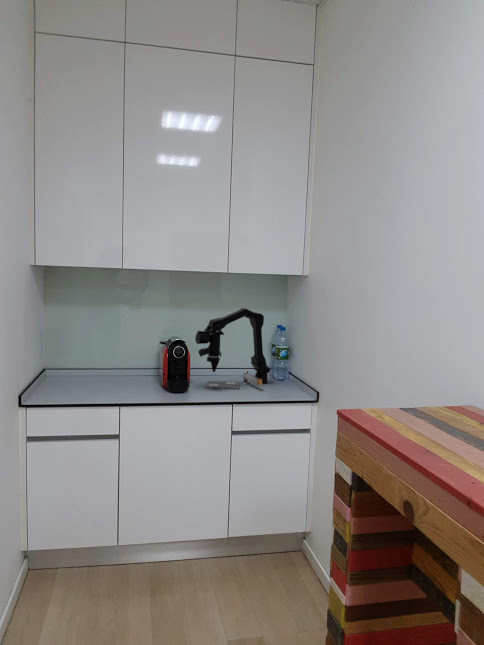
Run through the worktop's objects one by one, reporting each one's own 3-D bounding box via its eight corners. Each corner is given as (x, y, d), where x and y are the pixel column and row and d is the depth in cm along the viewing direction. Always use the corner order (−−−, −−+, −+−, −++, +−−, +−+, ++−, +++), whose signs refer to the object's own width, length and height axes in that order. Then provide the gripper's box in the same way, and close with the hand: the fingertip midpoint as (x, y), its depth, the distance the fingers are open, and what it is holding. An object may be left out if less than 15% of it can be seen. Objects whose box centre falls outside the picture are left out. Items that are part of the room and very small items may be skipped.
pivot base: (249, 382, 282) (250, 381, 282) (249, 384, 277) (249, 383, 277) (241, 382, 282) (241, 381, 282) (240, 384, 277) (240, 383, 277)
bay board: (240, 383, 278) (240, 381, 278) (239, 389, 265) (239, 387, 264) (207, 381, 279) (207, 380, 279) (205, 387, 265) (205, 386, 265)
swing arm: (242, 381, 280) (243, 370, 279) (246, 381, 281) (246, 370, 280) (257, 389, 263) (258, 378, 262) (261, 389, 264) (262, 377, 263)
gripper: (201, 339, 276) (200, 367, 277) (197, 345, 257) (196, 374, 259) (221, 340, 275) (220, 368, 277) (219, 346, 257) (218, 375, 259)
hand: (213, 371), depth 268 cm, fingers closed
